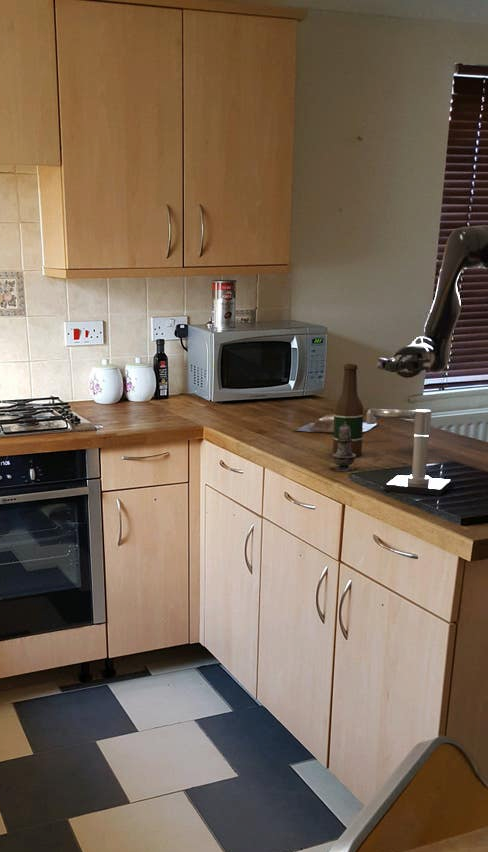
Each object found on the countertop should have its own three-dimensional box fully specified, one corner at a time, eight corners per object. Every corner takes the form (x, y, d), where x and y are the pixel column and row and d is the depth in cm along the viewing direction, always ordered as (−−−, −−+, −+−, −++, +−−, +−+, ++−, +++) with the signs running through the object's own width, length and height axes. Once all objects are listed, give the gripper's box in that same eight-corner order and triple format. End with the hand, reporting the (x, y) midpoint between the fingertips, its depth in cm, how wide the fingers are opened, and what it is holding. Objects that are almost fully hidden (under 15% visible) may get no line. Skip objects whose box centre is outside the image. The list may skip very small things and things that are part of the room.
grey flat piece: (377, 424, 283) (378, 412, 281) (359, 434, 266) (360, 421, 265) (316, 421, 292) (316, 409, 291) (294, 431, 275) (295, 418, 274)
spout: (431, 433, 194) (433, 409, 193) (427, 436, 191) (429, 412, 190) (368, 429, 201) (369, 407, 199) (363, 432, 198) (364, 409, 196)
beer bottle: (364, 453, 238) (368, 363, 231) (358, 458, 232) (362, 365, 224) (336, 451, 241) (339, 362, 234) (329, 457, 235) (332, 365, 227)
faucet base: (450, 486, 199) (454, 433, 195) (439, 495, 191) (443, 440, 187) (397, 481, 204) (400, 430, 201) (385, 490, 196) (388, 437, 192)
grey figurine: (336, 466, 223) (337, 419, 219) (358, 467, 220) (360, 420, 217) (328, 470, 218) (329, 422, 215) (351, 472, 216) (353, 423, 212)
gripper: (386, 344, 217) (365, 350, 203) (441, 345, 211) (423, 351, 197) (385, 375, 220) (364, 383, 205) (438, 376, 213) (421, 384, 199)
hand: (393, 367), depth 201 cm, fingers closed
